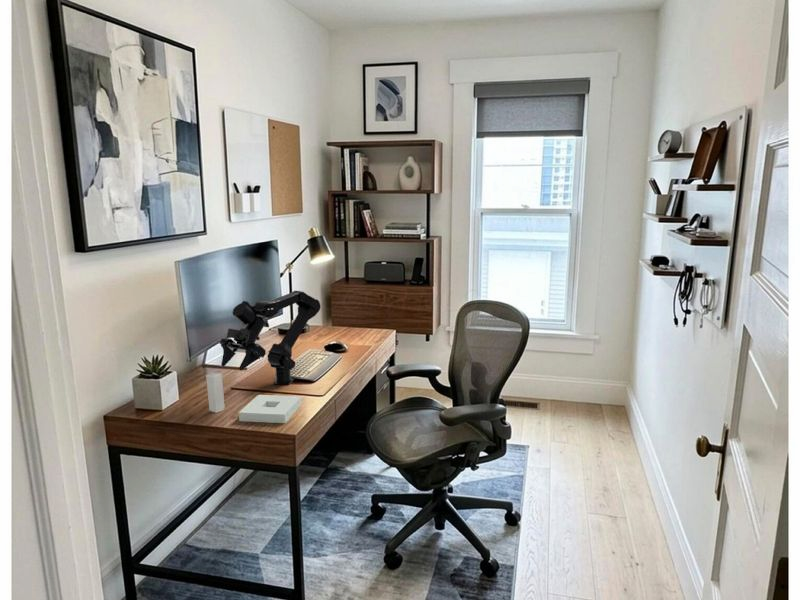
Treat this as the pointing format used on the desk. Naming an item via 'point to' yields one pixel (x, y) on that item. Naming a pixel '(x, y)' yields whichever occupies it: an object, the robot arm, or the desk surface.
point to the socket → (270, 409)
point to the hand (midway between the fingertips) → (231, 367)
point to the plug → (215, 392)
